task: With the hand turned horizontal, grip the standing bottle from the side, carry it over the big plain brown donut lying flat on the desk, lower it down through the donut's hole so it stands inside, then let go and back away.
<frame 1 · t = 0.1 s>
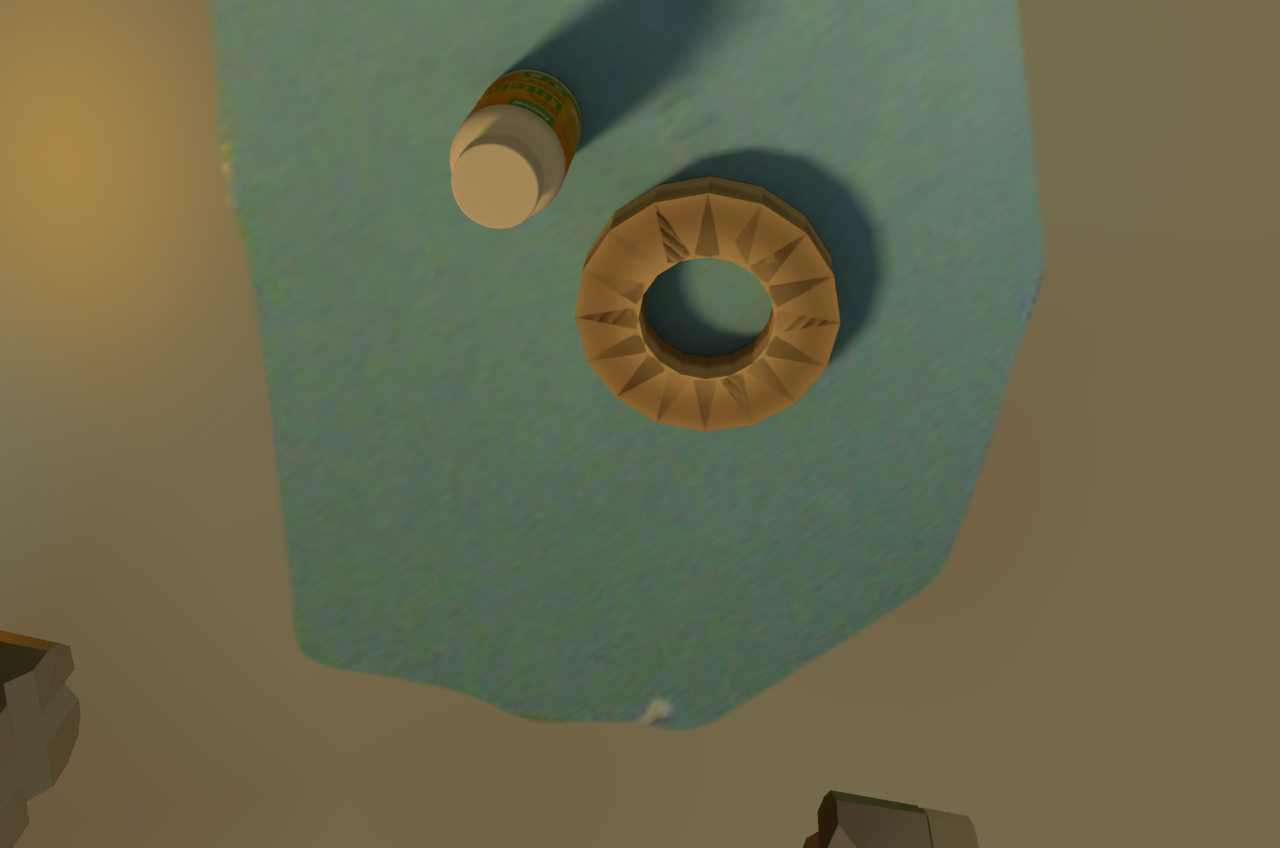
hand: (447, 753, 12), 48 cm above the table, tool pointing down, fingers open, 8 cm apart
plain brown donut: (707, 299, 62), on the table
supplement bottle: (532, 119, 57), on the table
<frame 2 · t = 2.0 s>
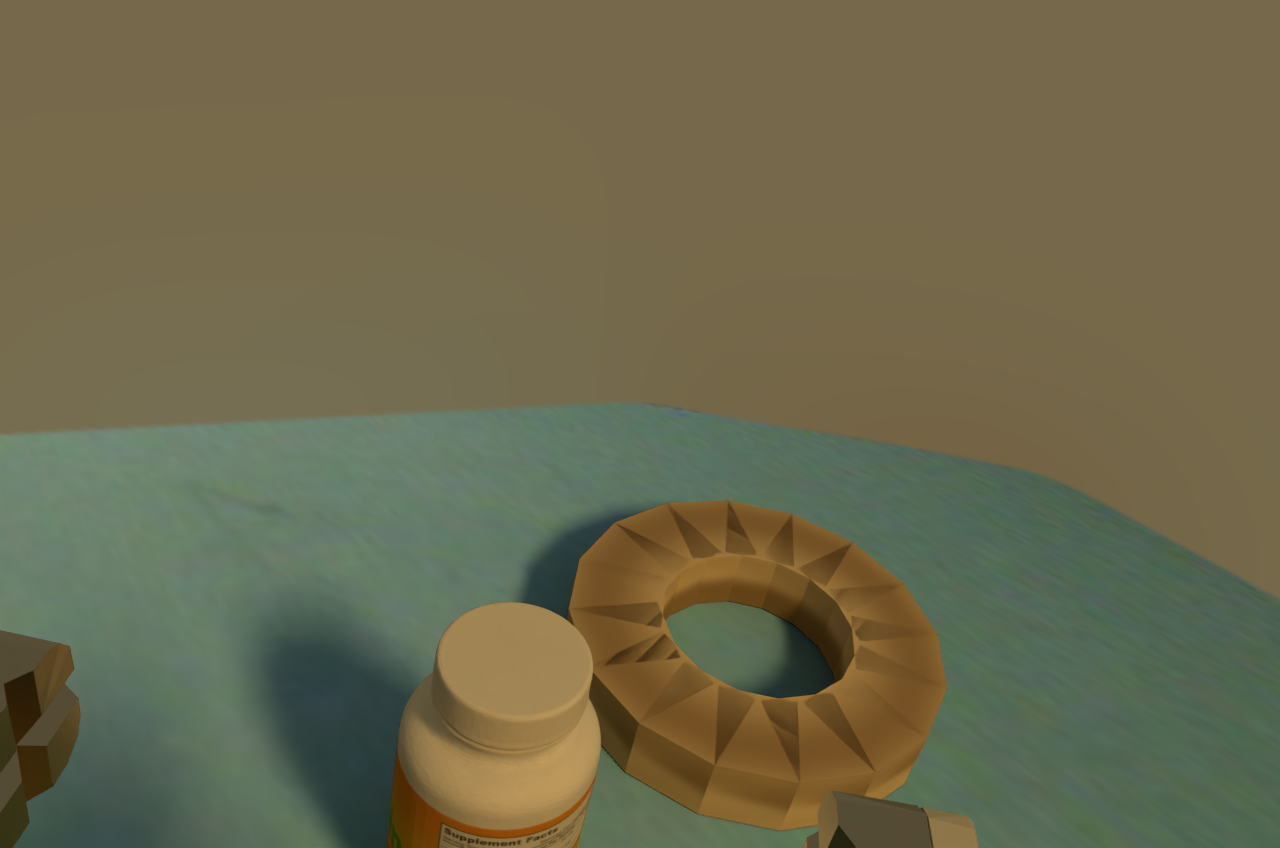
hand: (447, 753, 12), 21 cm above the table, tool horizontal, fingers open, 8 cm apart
plain brown donut: (742, 668, 43), on the table
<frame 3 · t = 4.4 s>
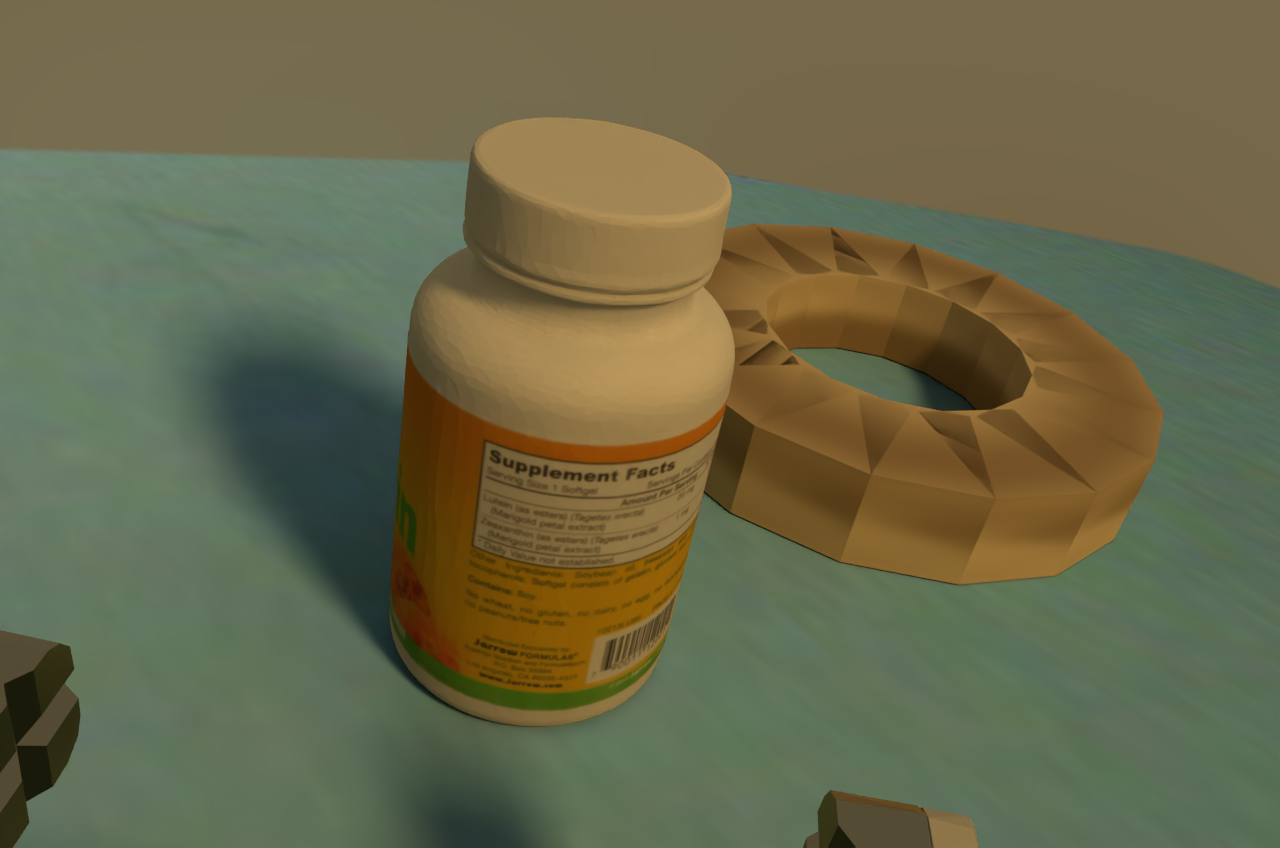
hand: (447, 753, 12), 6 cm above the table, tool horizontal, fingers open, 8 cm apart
plain brown donut: (870, 412, 31), on the table
supplement bottle: (525, 636, 22), on the table
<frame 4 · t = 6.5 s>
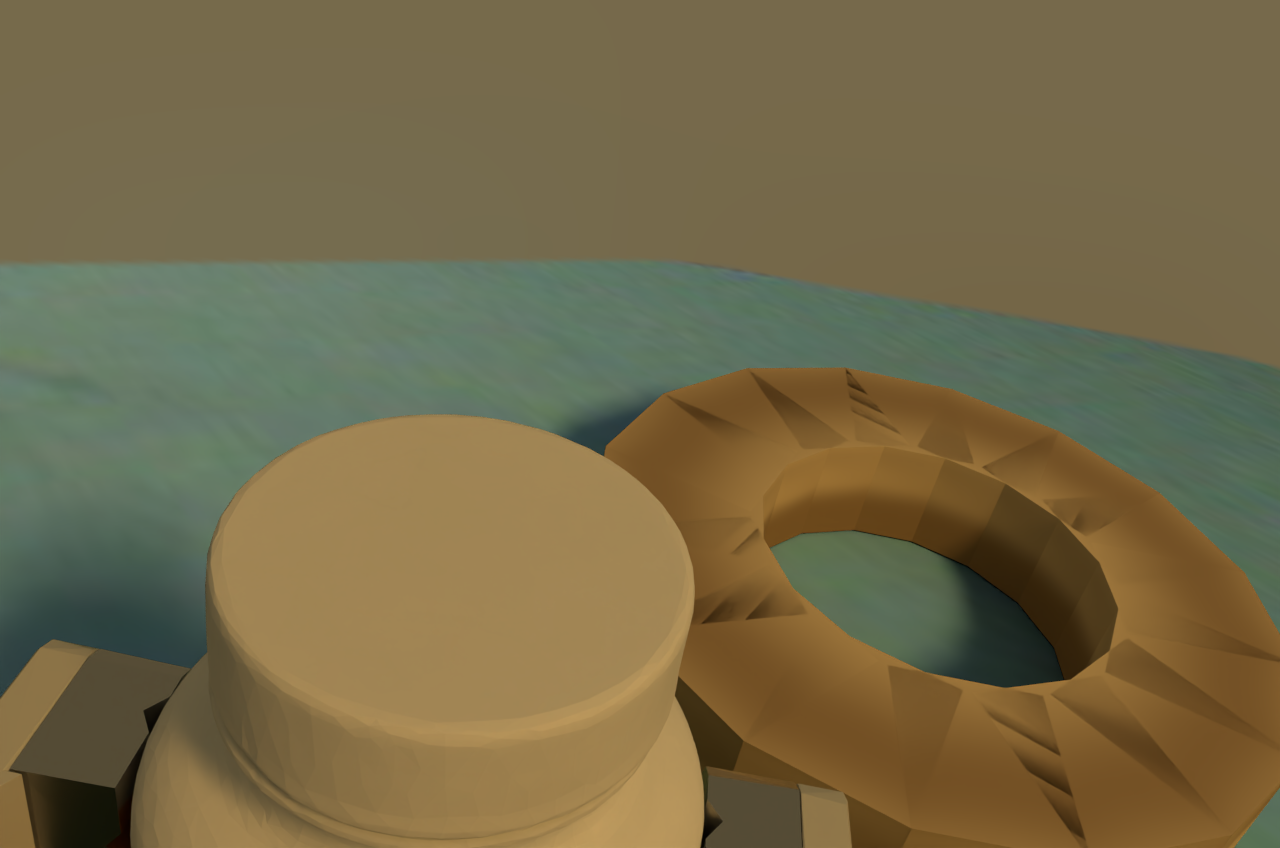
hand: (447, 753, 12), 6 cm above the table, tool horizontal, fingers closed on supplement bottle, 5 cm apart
plain brown donut: (899, 639, 24), on the table
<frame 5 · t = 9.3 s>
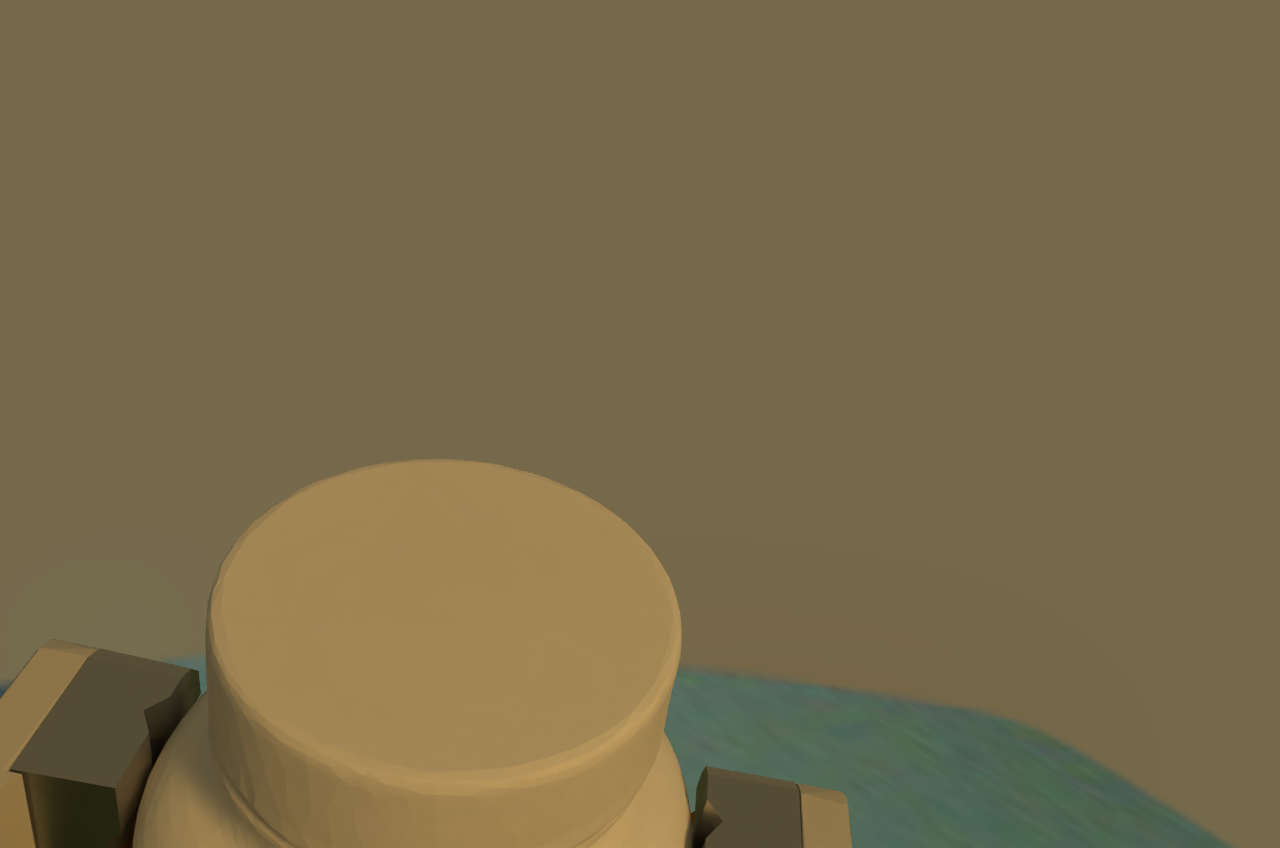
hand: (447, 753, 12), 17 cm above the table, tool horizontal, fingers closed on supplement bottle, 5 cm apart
when the fingers open (8 cm above the table, at t = 12.1 s): supplement bottle stays where it is, resting in plain brown donut.
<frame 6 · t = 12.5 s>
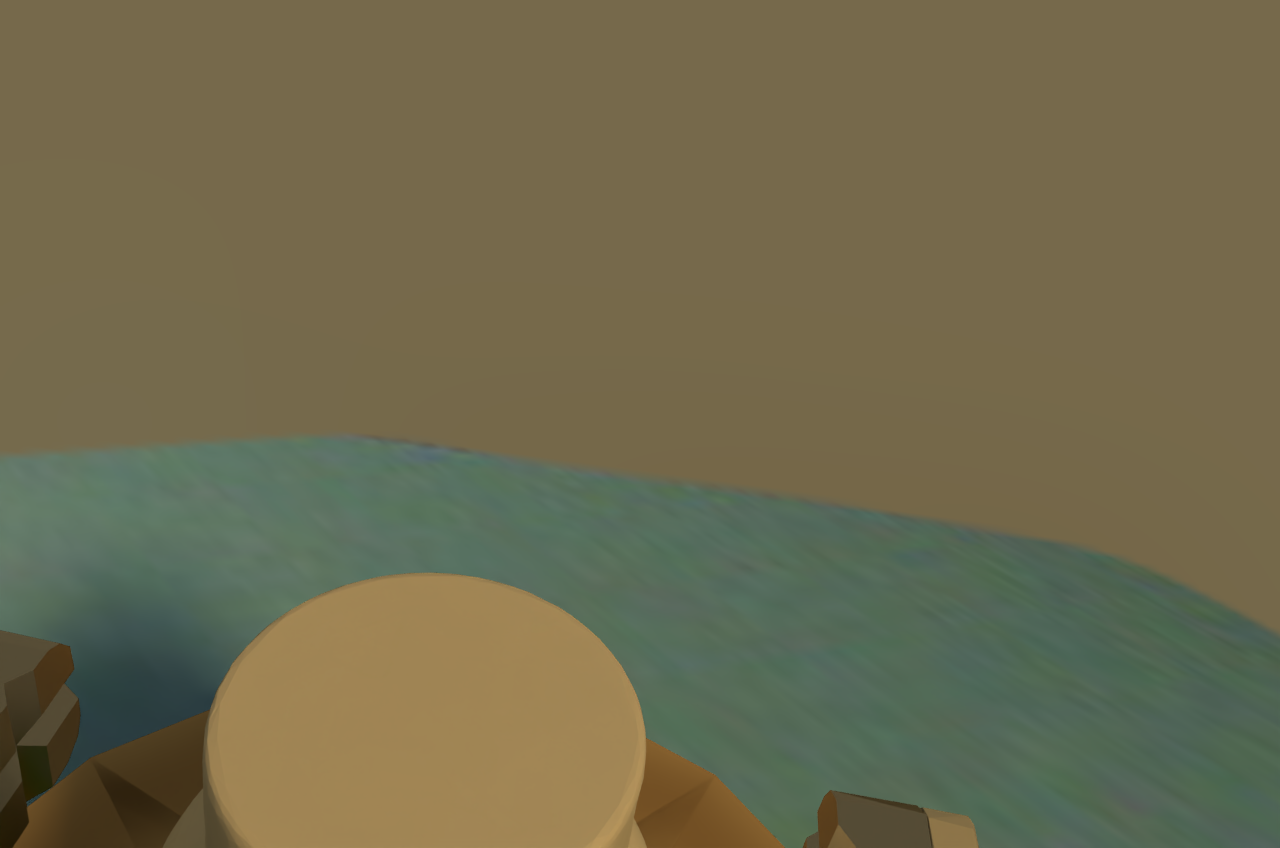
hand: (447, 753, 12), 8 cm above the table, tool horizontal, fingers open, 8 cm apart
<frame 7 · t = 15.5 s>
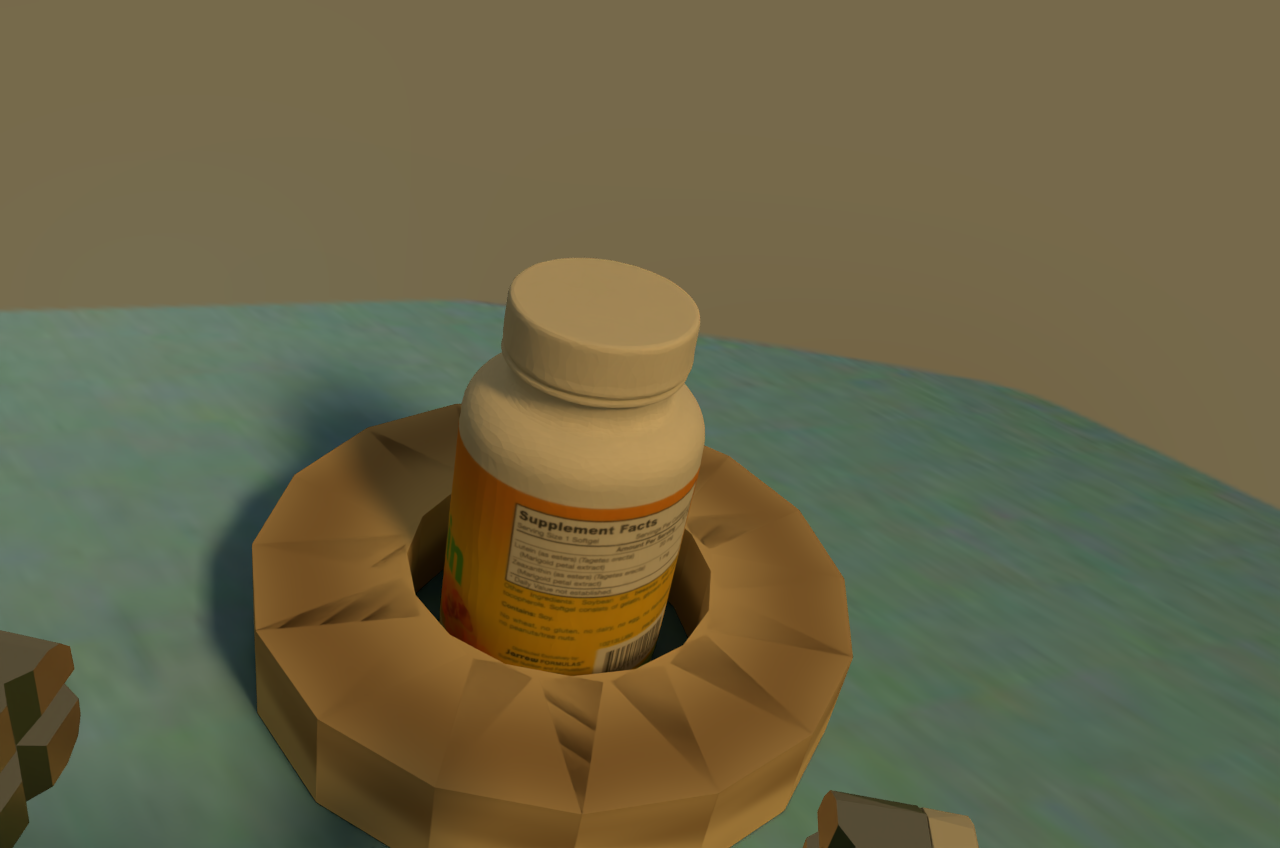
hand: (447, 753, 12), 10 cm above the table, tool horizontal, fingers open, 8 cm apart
plain brown donut: (549, 637, 28), on the table
supplement bottle: (544, 647, 28), resting in plain brown donut
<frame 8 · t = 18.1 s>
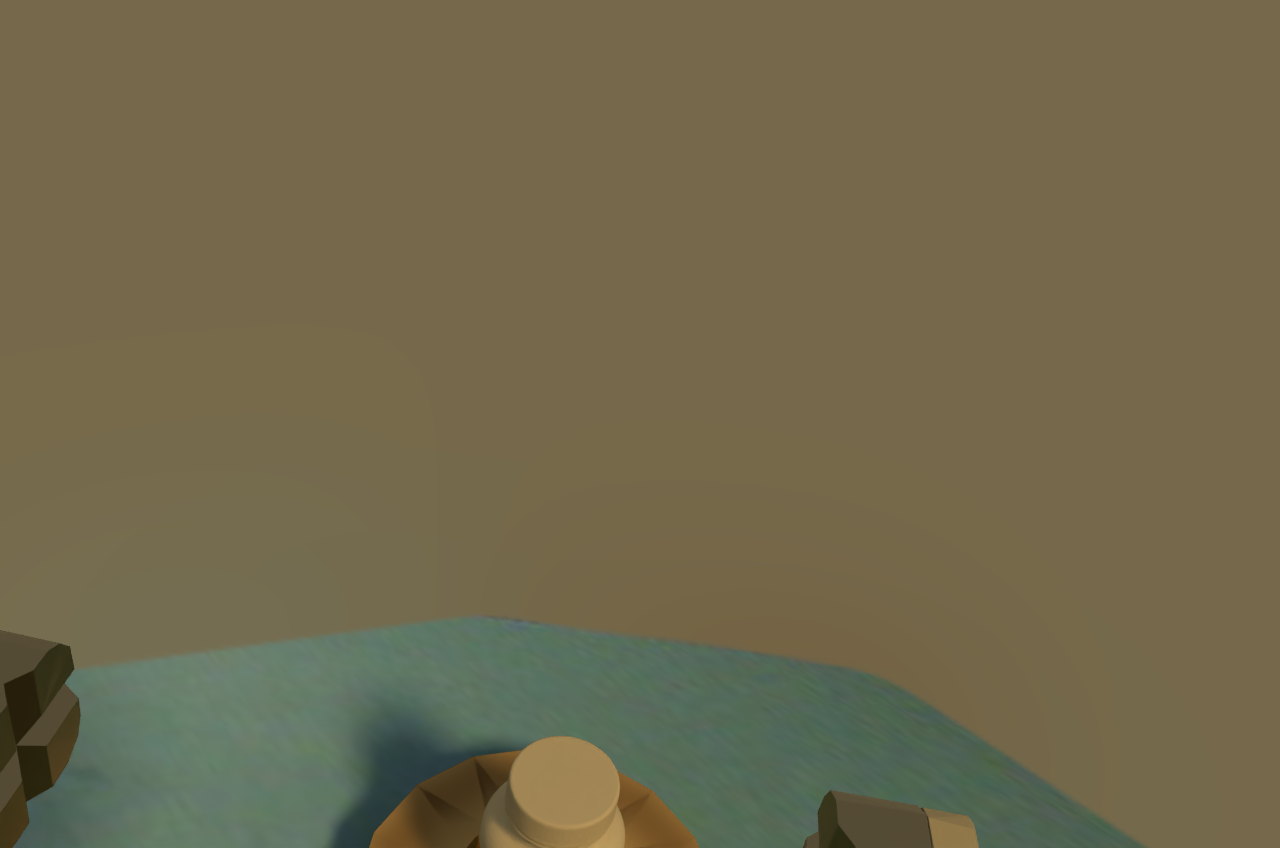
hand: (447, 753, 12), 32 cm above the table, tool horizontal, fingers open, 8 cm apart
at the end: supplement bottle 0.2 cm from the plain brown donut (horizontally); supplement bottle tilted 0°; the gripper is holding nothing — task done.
